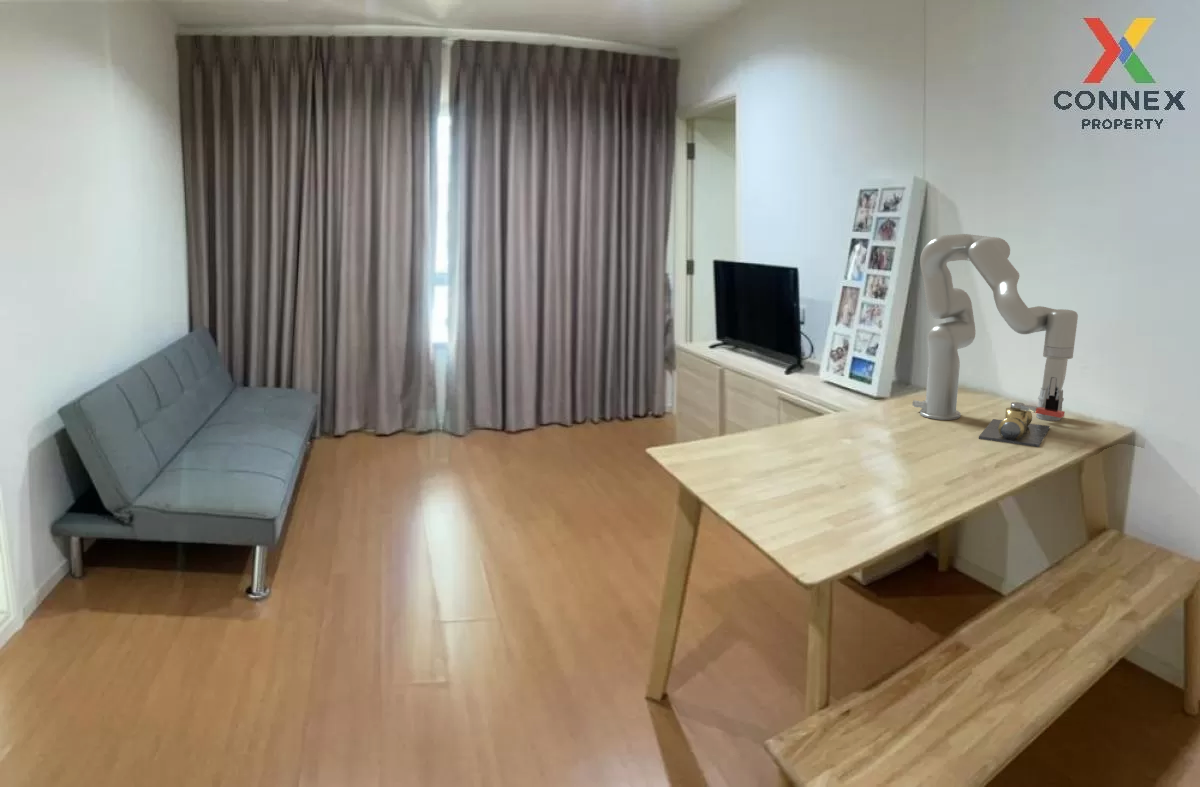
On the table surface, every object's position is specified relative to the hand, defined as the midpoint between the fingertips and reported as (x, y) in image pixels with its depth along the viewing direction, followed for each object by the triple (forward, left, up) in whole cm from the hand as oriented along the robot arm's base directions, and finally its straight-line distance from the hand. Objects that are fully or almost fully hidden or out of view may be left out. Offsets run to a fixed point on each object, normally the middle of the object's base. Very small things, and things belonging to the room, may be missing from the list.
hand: (1051, 411), depth 222 cm
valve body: (-9, 0, -8) cm, 12 cm away
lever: (-4, -2, 0) cm, 4 cm away
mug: (-3, +22, -9) cm, 24 cm away
